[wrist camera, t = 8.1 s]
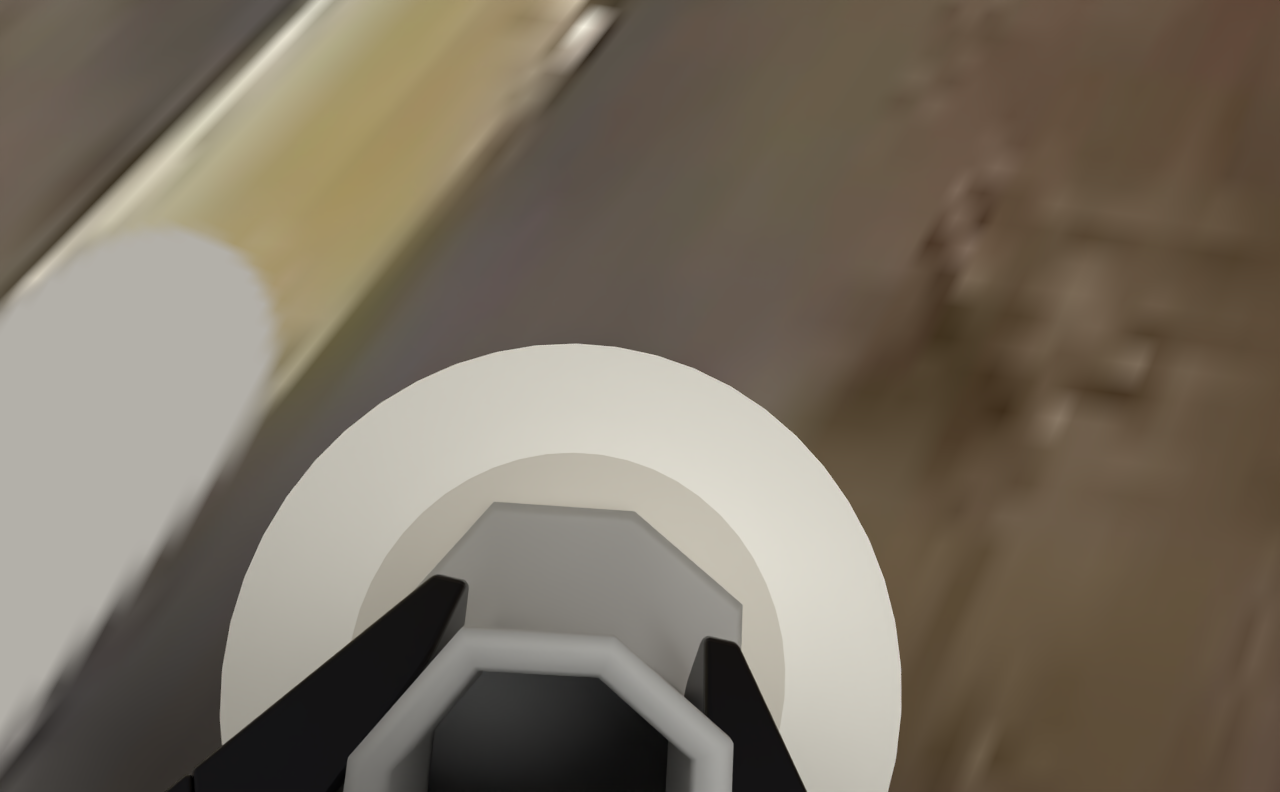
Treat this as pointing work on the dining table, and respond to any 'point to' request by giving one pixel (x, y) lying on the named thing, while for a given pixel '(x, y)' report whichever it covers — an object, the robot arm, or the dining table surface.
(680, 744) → the flask
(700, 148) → the dining table surface
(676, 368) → the ceramic plate
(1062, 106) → the dining table surface
